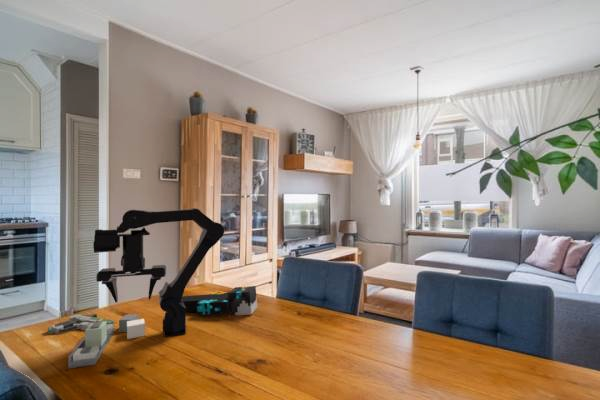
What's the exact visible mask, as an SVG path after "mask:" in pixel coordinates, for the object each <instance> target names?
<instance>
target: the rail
mask: <svg viewBox="0 0 600 400" xmlns="http://www.w3.org/2000/svg"><path fill="white" fill-rule="evenodd" d="M114 333H115V327H114V328H113V324H107V338H106V340H105V341H104V343H103V345H102V346H95V347H85V335H84V336H83V337H82V339H81V340H80V341H79V342H78V344H77V345H76V346H75V347H74V348H73V350H72V351H71V353H70V354H69V355H68V357H67V358H68V359H67V364H68V367H67V368H68V369H74V368H80V367H88V366H95V365H96V364H97V362H98V361H99V358H100V357H101V356H102V354H103V352H104V350H105V349H106V348H107V345H108V344H109V342H110V340H111V338H112V337H113V335H114Z"/></svg>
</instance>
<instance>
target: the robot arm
mask: <svg viewBox="0 0 600 400" xmlns="http://www.w3.org/2000/svg"><path fill="white" fill-rule="evenodd" d="M121 220H122V222H121V223H120V224H119V225H117V226H116V229H115V228H114V229H101V228H100V229H95V230H94V239H93V253H94V254H97V253H113V252H117V249H120V248H121V237H122V255H121V257H120V266H121V267H122V270H116V268H115V267H112V268H111V267H109V268H107V267H106V268H102V269H100V270H99V271H98V272H97V273H96V275H95V276H96V282H99V283H100V282H101V285H105V286H106V287H107V289H108V291H109V293H110V294H111V296H112V298H113V300H114V302H115V303H118V302H119V294H118V286H117V280H118V278H119V277H121V278H122V277H135V276H149V275H150V276H151V277H150V279H149V288H148V300H151V298H152V295H153V292H154V289H155V286H156V284H157V282H158V281H160V280H162V278H164V277H166V275H167V266H166V265H165V264H158V265H152V266H151V268H146V258H145V257H144V236H150V235H151V234H150V232H149V231H148V230H147V229H146V228H145V227H147V226H150V225H151V226H152V225H155V224H162V223H164V224H165V223H173V222H175V223H177V222H185V221H186V222H187V221H193V222H194V223H195V224H196V225H197V226H198V227H200V228H201V229H202V231H201V233H200V236H199V239H198V242H197V244H196V246H195V247H194V249H193V250H192V251H191V254H190V255H189V257H188V258H187V260H186V261H185V262H184V264H183V266H182V267H181V269H180V271H178V273H177V275H176V277H174V279H173V280H172V281H171V282H167V281H165V283H164V285H163V287H162V289H160V290H159V292H158V295H159V296H158V304H159V307H160V309H161V310H162V311H163V312H165V313H164V317H163V318H162V333H164V334H163V337H171V336H178V335H186V333H187V325H186V324H187V323H186V315H187V312H186V310H187V309H186V307H185V305H184V303H183V302H182V301H181V299H182V297H183V296H184V293H185V289H186V287H187V285H188V284H189V282H190V280H191V279H192V277H193V275H194V274H195V273H196V271H197V269H198V268H199V266H200V264H201V263H202V261H203V260H204V258H205V257H206V255H207V253H208V252H209V251H210V249H212V247H214V246H215V245H216V244H217V243H218V242H219V241H220V240H221V239H222V238H223V237H224V235H225V228H224V226H223V225H222V224H221V223H219V222H218V221H217V222H216V221H213V220H212V219H211V218H210V217H209V216H207V215H206V214H204V213H203V212H202V211H201V209H199V208H195V207H194V208H192V207H191V208H189V209H174V210H159V211H157V210H156V211H151V210H144V209H143V210H142V209H140V210H139V209H130V210H127V211H125V212H124V214H123V215H122V219H121ZM140 228H141V229H140ZM128 230H130V232H129V233H126V232H127V231H128Z"/></svg>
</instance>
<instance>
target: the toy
mask: <svg viewBox="0 0 600 400" xmlns="http://www.w3.org/2000/svg"><path fill="white" fill-rule="evenodd" d="M181 301H182V302H183V303H184V305H185V307H186V309H187V310H186V313H194V312H197V316H200V315H201V316H202V315H216V314H217V315H218V314H220V315H221V314H229V315H230V316H247V315H248V316H251V315H253V313H254V312H255V311H256V310H257V309H258V298H257V287H256V286H255V285H252V286H251V285H250V286H248V285H247V286H237V287H236V286H235V287H234V288H232V289H231V290H219V291H212V292H210V294H196V295H194V294H193V295H183V296H182V299H181Z"/></svg>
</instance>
